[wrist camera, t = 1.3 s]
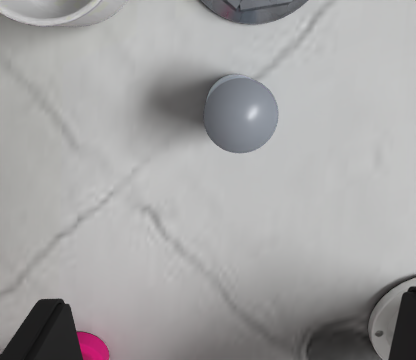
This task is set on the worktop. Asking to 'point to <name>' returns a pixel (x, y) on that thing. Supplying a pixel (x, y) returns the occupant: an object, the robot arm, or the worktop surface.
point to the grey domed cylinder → (240, 114)
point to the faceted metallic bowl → (253, 9)
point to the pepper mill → (92, 347)
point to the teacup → (60, 11)
